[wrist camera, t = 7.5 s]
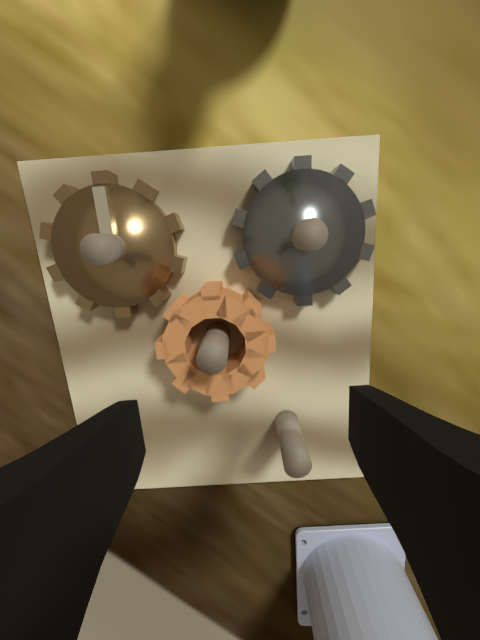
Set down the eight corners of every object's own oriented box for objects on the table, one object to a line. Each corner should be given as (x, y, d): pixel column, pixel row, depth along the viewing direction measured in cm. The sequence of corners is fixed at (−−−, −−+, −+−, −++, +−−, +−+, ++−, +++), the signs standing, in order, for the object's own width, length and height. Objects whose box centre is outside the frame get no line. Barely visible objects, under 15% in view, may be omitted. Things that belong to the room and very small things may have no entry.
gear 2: (363, 297, 17) (372, 301, 16) (237, 305, 17) (237, 310, 16) (368, 156, 15) (379, 149, 14) (228, 167, 16) (227, 161, 14)
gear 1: (193, 308, 17) (188, 315, 16) (70, 316, 18) (53, 323, 16) (178, 170, 16) (171, 163, 14) (41, 180, 16) (19, 174, 14)
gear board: (358, 463, 21) (394, 533, 16) (100, 477, 22) (58, 549, 17) (369, 141, 16) (427, 99, 11) (32, 166, 17) (-58, 136, 12)
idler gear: (273, 378, 18) (277, 398, 16) (172, 383, 19) (163, 404, 16) (268, 277, 17) (273, 283, 15) (159, 284, 17) (147, 291, 15)
